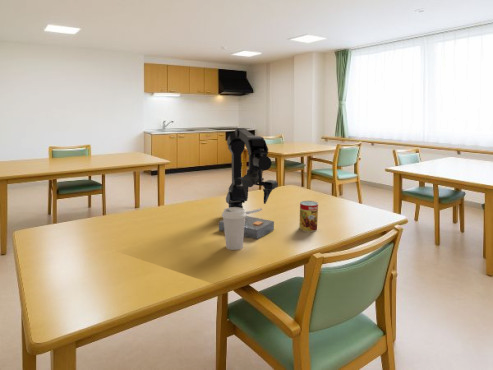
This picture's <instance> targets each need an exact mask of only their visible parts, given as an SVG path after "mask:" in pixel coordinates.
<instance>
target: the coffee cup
mask: <svg viewBox="0 0 493 370" xmlns="http://www.w3.org/2000/svg"><path fill="white" fill-rule="evenodd" d="M246 212H247V211H245V209H244V207H243V208H239V207H230V208H229V207H226V208H224V209H223V212H222V213H221V217H222V220H223V221H224V231H225V232H224V231H223V232H224V239H225V248H226V249H227V250H230V251H239V250H241V249H243V247H244V237H245V236H244V226H245V217H246V216H248V214H246Z"/></svg>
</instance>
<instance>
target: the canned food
mask: <svg viewBox="0 0 493 370" xmlns="http://www.w3.org/2000/svg"><path fill="white" fill-rule="evenodd" d="M318 213H319V203H318V202H317V201H314V200H302V201H300V203H299V230H300V231H302V232H316V231H317V230H318V218H319V217H318V216H319V215H318Z"/></svg>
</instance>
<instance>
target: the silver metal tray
mask: <svg viewBox="0 0 493 370" xmlns="http://www.w3.org/2000/svg"><path fill="white" fill-rule="evenodd" d="M274 230H275V221H274V220H269V219H263V218H259V217H254V216H249V215H247V216H246V217H245V226H244V237H246V238H251V239H253V240H258V239H260V238H262V237H264V236H265V235H268V234H269V233H271V232H273V231H274ZM218 231H221V232H224V233H225V231H224V221H223V219H221V220H220V221H218Z"/></svg>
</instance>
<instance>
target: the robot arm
mask: <svg viewBox="0 0 493 370" xmlns="http://www.w3.org/2000/svg"><path fill="white" fill-rule="evenodd" d="M226 145H227V146H228V147H227V149H228V150H229V152H230V154H231V183H230V185H229V187H228V191H227V194H226V197H225V202H226V203H227V204H228V208H230V207H239V208H243V209H244V206H243V204H245V202H247V201H248V198H249V188H252V187H254V186H260V187H263V189H262V191H263V204H264V205H266V204H267V203H268V202H267V201H268V199H269V197H270V194H271V193H272V192H273V190H276V189H277V188H278V187H279V186H278V181H277V180H273V179H268V180H265V179H264V177H263V172H265V171H268V170H269V169H270V168H271V166H272V160H271V158H270V157H269V156H268V154H269V148H268V145H267V142H266V139H264V137H263V136H260V135H255V134H253V133H251V132H250V131H248V129H247V128H238V127H237V128H235V130H234V131H233V132H231V133H230V134H229V135H228V137H227V139H226ZM245 147H246V150H247V155H248V169H246V174H244V176H242V154H243V152H244V151H245ZM264 180H265V181H264Z"/></svg>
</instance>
